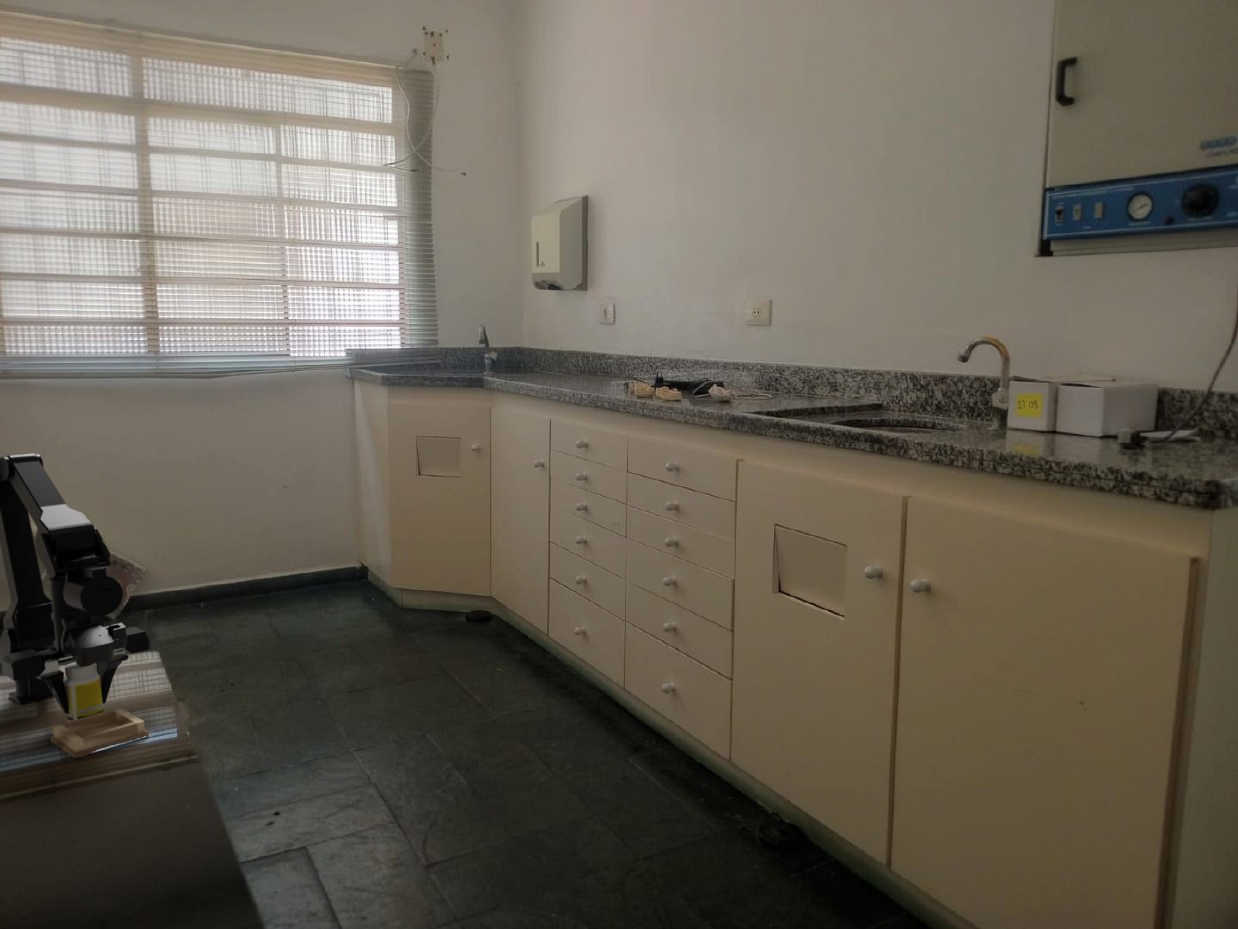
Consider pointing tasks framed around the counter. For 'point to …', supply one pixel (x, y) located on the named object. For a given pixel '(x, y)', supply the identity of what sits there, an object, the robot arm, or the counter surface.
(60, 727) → the jig cradle
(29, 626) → the robot arm
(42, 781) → the counter surface
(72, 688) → the supplement bottle
